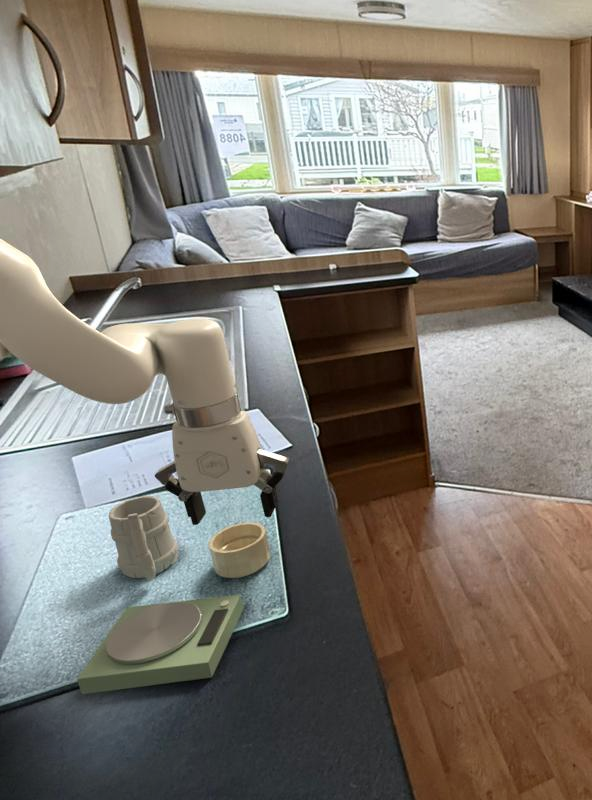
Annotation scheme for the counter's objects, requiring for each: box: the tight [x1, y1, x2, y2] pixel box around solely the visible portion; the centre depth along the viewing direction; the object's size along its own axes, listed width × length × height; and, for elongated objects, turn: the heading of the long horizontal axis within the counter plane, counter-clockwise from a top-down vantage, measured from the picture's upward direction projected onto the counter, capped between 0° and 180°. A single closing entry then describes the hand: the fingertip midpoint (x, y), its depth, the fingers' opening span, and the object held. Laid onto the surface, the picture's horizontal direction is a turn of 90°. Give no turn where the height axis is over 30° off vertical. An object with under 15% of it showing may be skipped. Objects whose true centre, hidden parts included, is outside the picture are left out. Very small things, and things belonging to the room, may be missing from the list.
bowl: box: [208, 521, 272, 579], centre depth 97 cm, size 7×7×5 cm
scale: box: [76, 594, 245, 695], centre depth 82 cm, size 14×12×3 cm
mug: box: [108, 495, 180, 582], centre depth 94 cm, size 8×12×12 cm, turn 35°
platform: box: [106, 601, 202, 664], centre depth 81 cm, size 10×10×1 cm
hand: (235, 515), depth 95 cm, fingers open, 9 cm apart
